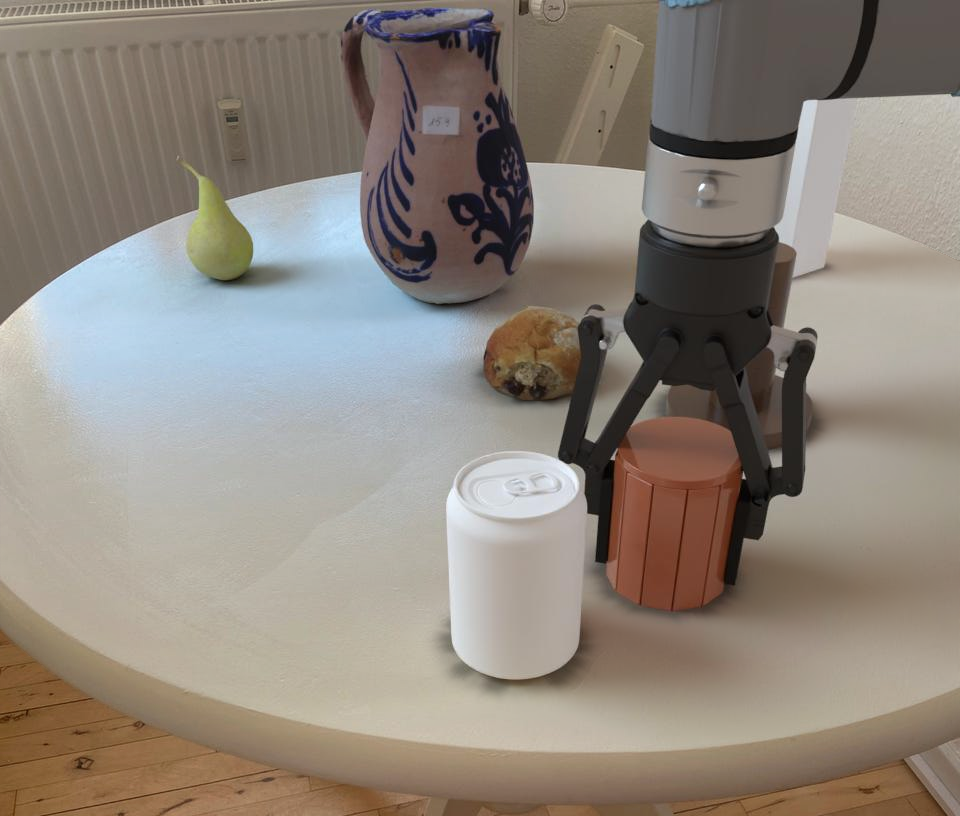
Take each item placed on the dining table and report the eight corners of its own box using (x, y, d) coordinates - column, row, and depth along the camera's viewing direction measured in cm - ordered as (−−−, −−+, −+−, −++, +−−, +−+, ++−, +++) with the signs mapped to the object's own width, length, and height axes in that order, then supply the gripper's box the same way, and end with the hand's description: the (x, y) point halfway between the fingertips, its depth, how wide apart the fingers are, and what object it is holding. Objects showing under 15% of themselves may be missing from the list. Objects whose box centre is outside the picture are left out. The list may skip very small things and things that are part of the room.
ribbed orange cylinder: (731, 551, 75) (753, 425, 68) (716, 620, 69) (738, 489, 63) (619, 533, 77) (630, 409, 70) (596, 599, 71) (605, 470, 64)
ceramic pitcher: (480, 336, 102) (475, 46, 86) (305, 296, 111) (271, 23, 94) (561, 275, 114) (570, 8, 98) (397, 242, 122) (380, -9, 106)
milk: (824, 268, 114) (872, 38, 100) (785, 281, 112) (829, 47, 98) (781, 251, 118) (822, 27, 104) (743, 264, 116) (779, 36, 101)
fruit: (228, 295, 111) (207, 175, 103) (175, 281, 114) (151, 164, 106) (269, 274, 115) (252, 157, 108) (218, 261, 118) (198, 147, 111)
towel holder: (814, 392, 93) (847, 231, 84) (804, 460, 84) (840, 288, 75) (677, 375, 96) (696, 217, 87) (654, 440, 87) (672, 272, 78)
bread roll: (601, 419, 97) (631, 333, 94) (533, 412, 89) (564, 317, 86) (522, 385, 102) (548, 302, 99) (452, 375, 94) (477, 284, 92)
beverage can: (436, 619, 70) (428, 460, 62) (551, 594, 71) (557, 437, 64) (474, 699, 64) (470, 535, 56) (598, 670, 66) (611, 507, 58)
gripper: (507, 228, 57) (505, 568, 72) (911, 267, 52) (820, 623, 67) (542, 185, 63) (533, 509, 77) (911, 217, 58) (827, 556, 73)
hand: (667, 561), depth 72 cm, fingers closed on ribbed orange cylinder, 8 cm apart
